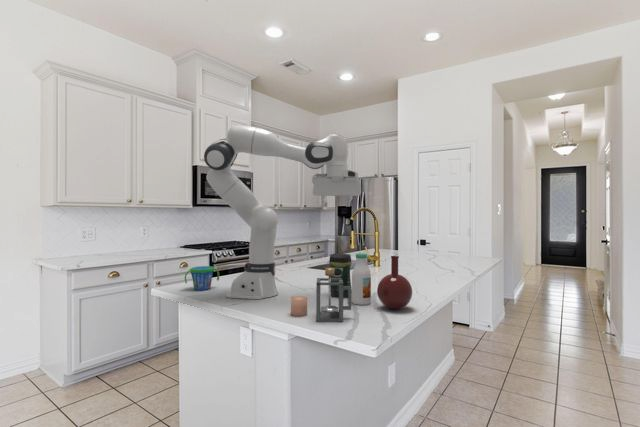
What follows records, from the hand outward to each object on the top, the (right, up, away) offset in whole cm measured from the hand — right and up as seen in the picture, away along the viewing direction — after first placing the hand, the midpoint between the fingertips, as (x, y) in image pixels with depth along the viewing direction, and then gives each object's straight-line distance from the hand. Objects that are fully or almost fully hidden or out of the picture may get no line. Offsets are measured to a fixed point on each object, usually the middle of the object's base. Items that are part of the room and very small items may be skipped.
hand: (336, 206), depth 151 cm
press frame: (-2, -39, -26) cm, 47 cm away
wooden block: (-15, -39, -22) cm, 47 cm away
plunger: (-4, -37, -26) cm, 45 cm away
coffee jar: (+2, -39, +8) cm, 40 cm away
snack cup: (-63, -39, +19) cm, 76 cm away
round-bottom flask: (+22, -40, -13) cm, 47 cm away
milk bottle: (+10, -39, -5) cm, 41 cm away
